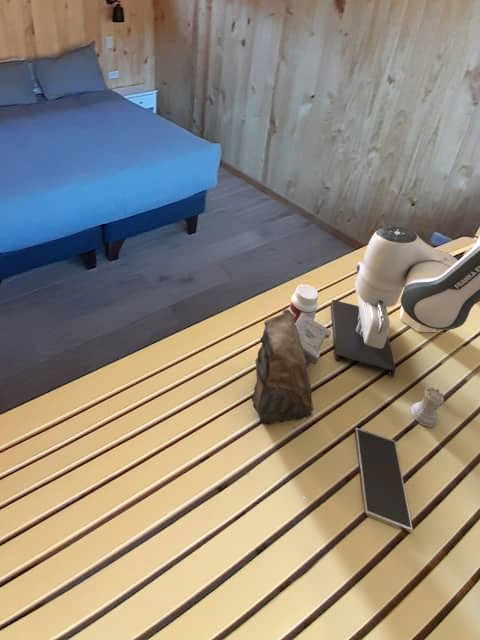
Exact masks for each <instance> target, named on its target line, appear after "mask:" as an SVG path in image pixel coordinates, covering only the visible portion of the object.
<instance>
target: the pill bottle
mask: <svg viewBox="0 0 480 640" xmlns="http://www.w3.org/2000/svg"><path fill="white" fill-rule="evenodd" d="M318 299H319V292H318V290H317V289H316V288H315V287H314V286H311V285H309V284H299V285H297V287H296V289H295V292H294V293H293V294H292V296H291V300H290V303H289V307H288V310H289V311H290V312H291V314H292V316H293V319H294V322H295V323H296V322H297V320H298V318H299V317H300V315H301V314H305V315H306V316H308V317H309V318H311V319H313V320H314V321H315V318H316V314H317V310H318V307H319V303H318V301H319V300H318Z"/></svg>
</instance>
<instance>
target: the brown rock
mask: <svg viewBox="0 0 480 640" xmlns="http://www.w3.org/2000/svg"><path fill="white" fill-rule="evenodd" d="M259 339H260V342H261V346H260V348H259V349H258V352H257V357H256V359H255V360H254V361H255V374H256V382H255V384H254V387H253V389H254V390H253V396H252V397H251V400H252V401H251V402H252V404H253V408H254V409H255V410H256V412H257V414H258V417H259V421H260V423H261V424H263V425H267V426H269V425H274V424H276V423H280V422H281V423H280V424H282V422H283V423H285V422H290V421H301V420H304V419H306V418H309V416H311V415H312V416H313V411H314V409H315V408H314V404H313V396H312V394H313V390H312V386H311V380H310V375H309V371H308V370H309V368H308V369H307V365H306V359H305V354H304V350H303V347H302V344H301V341H300V337H299V334H298V330H297V327H296V325H295V322H294V319H293V316H292V314H291V312H290V311H289V308H286V309H284V310H283V311H282V313H281V314H278V315H275V316H273V317H271V318H269V319H267V320H265V321H264V330H263V332H262V336H261V337H260V338H259ZM312 416H311V417H312ZM305 417H306V418H305ZM284 421H285V422H284ZM275 422H276V423H275Z"/></svg>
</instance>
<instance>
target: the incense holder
mask: <svg viewBox="0 0 480 640" xmlns="http://www.w3.org/2000/svg"><path fill="white" fill-rule="evenodd" d="M295 325H296V327H297V330H298V334H299V337H300V341H301V344H302V347H303V350H304V354H305V359H306V365H307V369H308V370H309V368H310V366H311V365H314V366H315V365H316V364H317V363H318V361H319V359H320V357H321V355H320V351H319V350H320V348H321V346H322V345H323V342H324V340H325V339H329V338H330V337H331V335H332V334H333V331H331V330H330V329H329V328H327V327H326V326H324V325H323V324H321V323H319V322H318V321H316V320H315V319H314V320H313V319H311V318H309V317H308V316H306V315H305V314H301V315H300V317H299V318H298V320H297V322H296V323H295Z"/></svg>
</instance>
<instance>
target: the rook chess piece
mask: <svg viewBox="0 0 480 640" xmlns="http://www.w3.org/2000/svg"><path fill="white" fill-rule="evenodd" d="M423 393H424V394H423V396H422V398H423V399H422V400H421V401H417V402H415V403H413V405H412V406H411V408H410V413H411V415H412V417H413V418H414V420H415V421H416V422H418V423H419V424H420V425H422V426H424V427H429V428H430V427H435V426H436V425H437V422H438V421H439V419H438V412H437V409H438V408H440V407H441V405H442V404H444V402H445V399H444V394H443V392H440V389H438V388H436V389H435V387H434V386H430V387H427V388H425V389H424V391H423Z"/></svg>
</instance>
